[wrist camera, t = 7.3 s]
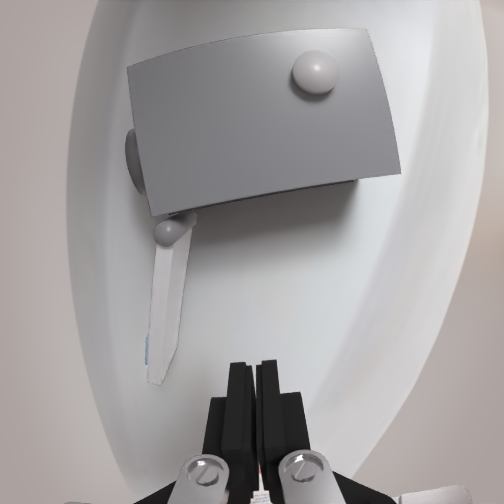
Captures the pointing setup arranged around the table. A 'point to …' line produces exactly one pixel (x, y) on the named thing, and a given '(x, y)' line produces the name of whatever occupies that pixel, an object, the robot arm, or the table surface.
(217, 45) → the grey knobbed panel
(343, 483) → the robot arm
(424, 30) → the table surface
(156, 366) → the side door
